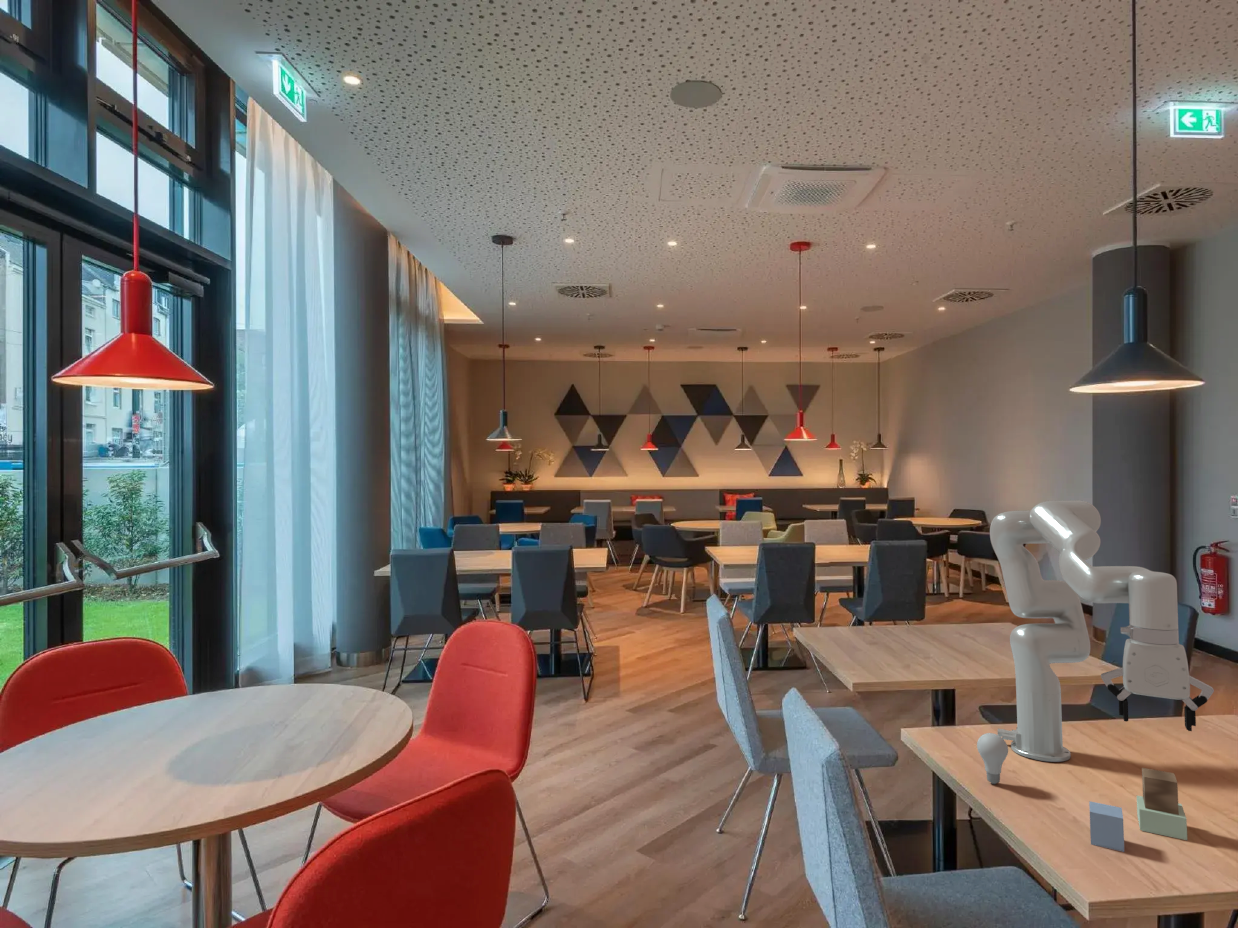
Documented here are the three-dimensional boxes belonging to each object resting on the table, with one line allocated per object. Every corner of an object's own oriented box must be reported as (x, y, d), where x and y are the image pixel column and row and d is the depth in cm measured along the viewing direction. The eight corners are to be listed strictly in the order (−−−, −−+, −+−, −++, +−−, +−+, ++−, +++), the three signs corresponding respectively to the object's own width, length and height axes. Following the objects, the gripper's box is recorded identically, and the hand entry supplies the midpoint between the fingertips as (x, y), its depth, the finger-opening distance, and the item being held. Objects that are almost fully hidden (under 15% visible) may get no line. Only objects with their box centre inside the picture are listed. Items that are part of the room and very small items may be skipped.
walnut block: (1145, 808, 132) (1144, 776, 132) (1143, 798, 136) (1141, 767, 136) (1178, 814, 129) (1177, 782, 129) (1175, 804, 133) (1174, 773, 133)
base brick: (1140, 830, 131) (1139, 809, 131) (1137, 815, 137) (1136, 795, 137) (1187, 840, 127) (1186, 818, 127) (1182, 824, 133) (1181, 803, 133)
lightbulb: (1006, 779, 154) (1004, 730, 154) (1012, 791, 148) (1010, 739, 149) (976, 776, 156) (974, 727, 156) (980, 787, 150) (979, 736, 151)
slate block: (1090, 844, 126) (1089, 811, 127) (1090, 832, 130) (1089, 800, 131) (1124, 852, 124) (1123, 818, 124) (1122, 840, 128) (1121, 807, 128)
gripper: (1100, 634, 135) (1102, 721, 135) (1215, 645, 125) (1218, 739, 125) (1099, 627, 141) (1101, 710, 141) (1208, 637, 132) (1211, 726, 131)
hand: (1156, 723), depth 133 cm, fingers open, 9 cm apart
